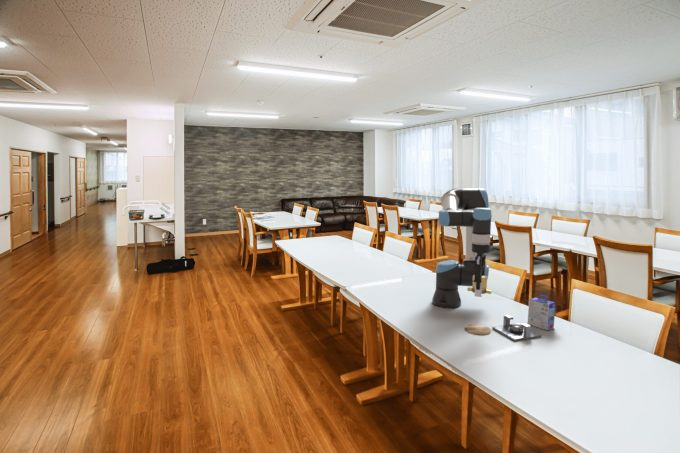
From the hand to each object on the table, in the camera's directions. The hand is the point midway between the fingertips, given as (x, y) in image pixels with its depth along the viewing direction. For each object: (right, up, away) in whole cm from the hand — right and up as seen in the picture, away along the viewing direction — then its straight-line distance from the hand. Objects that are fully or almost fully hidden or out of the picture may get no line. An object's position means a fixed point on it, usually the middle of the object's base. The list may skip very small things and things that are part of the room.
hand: (479, 294), depth 171 cm
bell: (0, +1, 0) cm, 1 cm away
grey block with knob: (+16, -17, -2) cm, 23 cm away
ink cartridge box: (+30, -16, +6) cm, 35 cm away
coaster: (0, -17, +2) cm, 17 cm away
